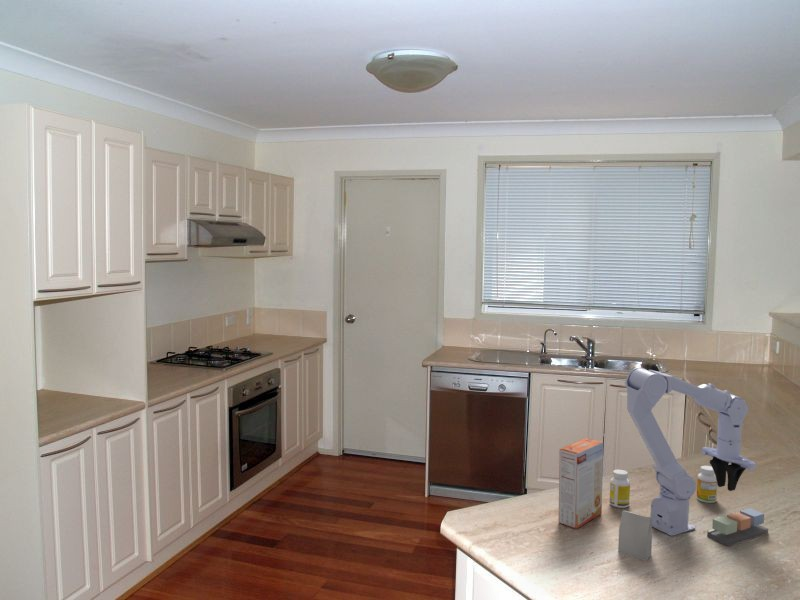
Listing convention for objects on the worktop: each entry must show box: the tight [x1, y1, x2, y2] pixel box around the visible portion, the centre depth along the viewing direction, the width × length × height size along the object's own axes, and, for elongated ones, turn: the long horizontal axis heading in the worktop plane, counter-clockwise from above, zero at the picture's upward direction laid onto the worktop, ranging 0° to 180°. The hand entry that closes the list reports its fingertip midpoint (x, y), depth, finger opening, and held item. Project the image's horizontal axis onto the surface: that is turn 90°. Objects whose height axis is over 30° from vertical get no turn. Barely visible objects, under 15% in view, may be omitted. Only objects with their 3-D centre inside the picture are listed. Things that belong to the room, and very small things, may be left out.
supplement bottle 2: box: [696, 465, 718, 504], centre depth 190 cm, size 5×5×10 cm
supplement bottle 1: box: [609, 469, 631, 509], centre depth 186 cm, size 5×5×10 cm
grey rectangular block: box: [617, 509, 653, 562], centre depth 157 cm, size 4×7×10 cm, turn 51°
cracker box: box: [558, 437, 604, 530], centre depth 175 cm, size 14×6×21 cm, turn 135°
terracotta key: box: [726, 511, 751, 531], centre depth 167 cm, size 4×4×3 cm
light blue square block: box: [739, 507, 765, 526], centre depth 170 cm, size 4×4×3 cm
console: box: [706, 524, 769, 547], centre depth 167 cm, size 16×6×2 cm, turn 118°
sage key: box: [711, 515, 737, 535], centre depth 164 cm, size 4×4×3 cm
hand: (726, 488), depth 173 cm, fingers closed
